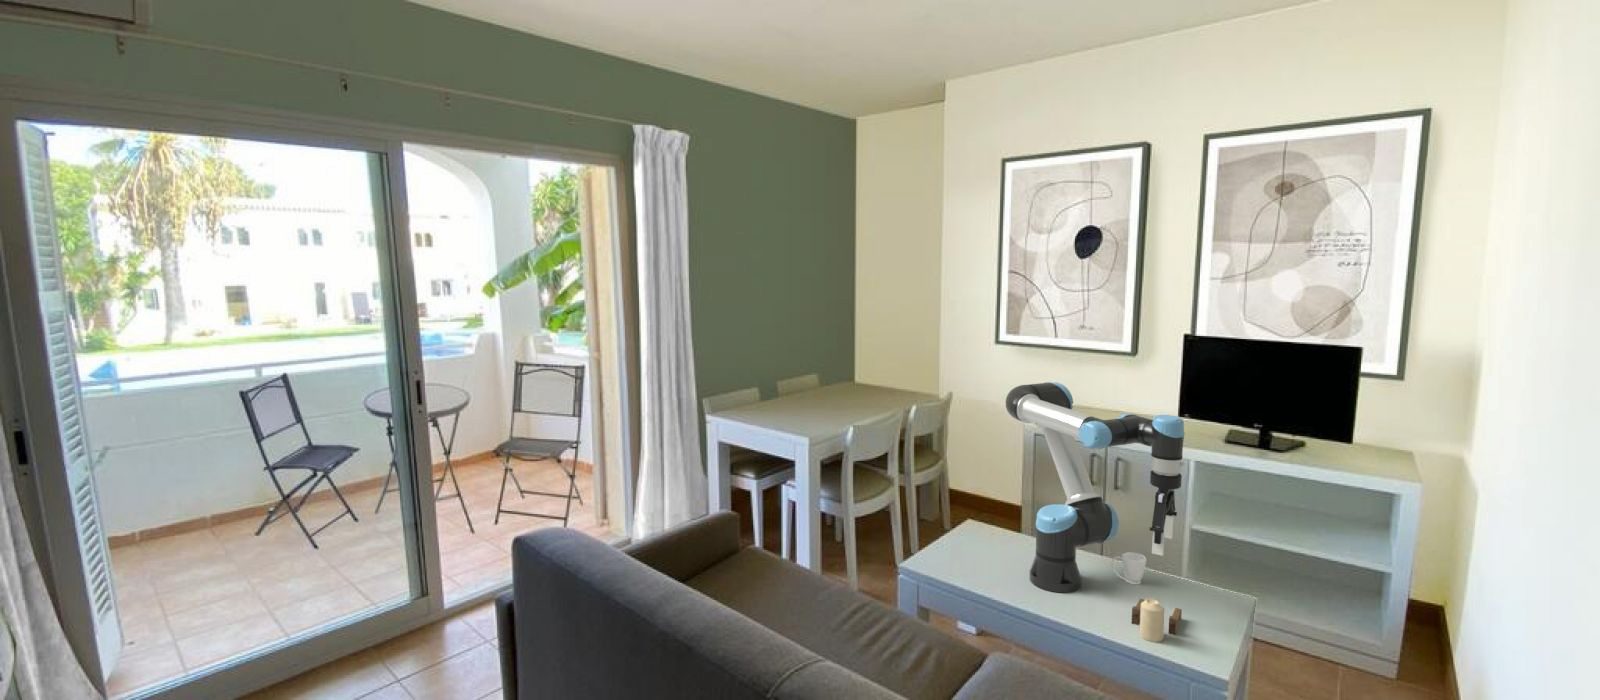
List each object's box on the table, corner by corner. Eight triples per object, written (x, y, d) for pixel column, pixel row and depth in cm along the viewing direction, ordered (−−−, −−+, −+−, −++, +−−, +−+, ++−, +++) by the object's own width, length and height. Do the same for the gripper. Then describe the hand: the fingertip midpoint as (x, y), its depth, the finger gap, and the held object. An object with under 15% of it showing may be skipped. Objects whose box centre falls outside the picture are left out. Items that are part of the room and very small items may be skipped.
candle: (1166, 642, 174) (1168, 606, 172) (1144, 641, 174) (1145, 605, 173) (1158, 631, 179) (1159, 596, 178) (1136, 630, 180) (1137, 595, 179)
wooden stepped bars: (1131, 623, 183) (1132, 608, 183) (1139, 608, 191) (1140, 593, 191) (1174, 635, 177) (1175, 619, 177) (1181, 619, 185) (1181, 604, 184)
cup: (1144, 588, 203) (1145, 563, 202) (1108, 580, 208) (1109, 556, 208) (1147, 579, 209) (1148, 554, 208) (1112, 572, 214) (1113, 548, 213)
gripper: (1173, 486, 171) (1169, 565, 174) (1189, 463, 191) (1185, 534, 193) (1141, 481, 176) (1137, 557, 178) (1159, 458, 195) (1156, 528, 198)
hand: (1162, 545), depth 186 cm, fingers open, 13 cm apart
